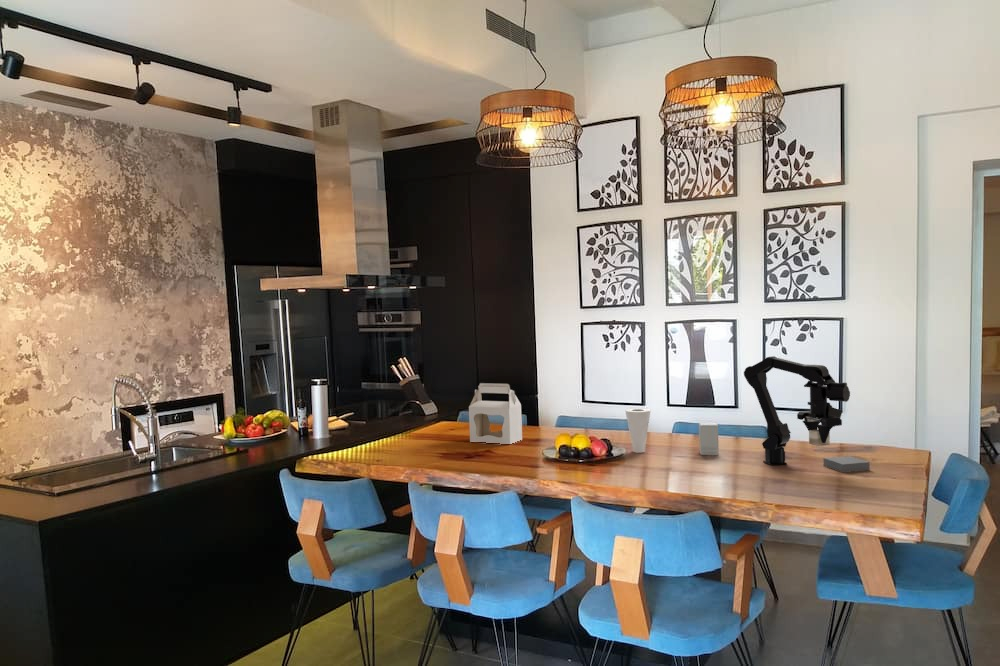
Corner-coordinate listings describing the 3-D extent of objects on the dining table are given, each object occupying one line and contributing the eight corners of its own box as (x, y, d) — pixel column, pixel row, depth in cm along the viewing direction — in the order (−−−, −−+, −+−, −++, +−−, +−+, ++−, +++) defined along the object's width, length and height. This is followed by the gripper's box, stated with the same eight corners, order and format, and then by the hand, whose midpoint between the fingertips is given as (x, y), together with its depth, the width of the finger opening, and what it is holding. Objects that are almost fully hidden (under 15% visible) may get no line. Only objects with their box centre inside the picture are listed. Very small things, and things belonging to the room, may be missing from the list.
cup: (652, 454, 298) (651, 412, 298) (626, 454, 300) (625, 412, 299) (650, 449, 309) (649, 408, 308) (626, 449, 310) (625, 408, 310)
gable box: (469, 442, 338) (467, 384, 337) (482, 437, 350) (480, 381, 349) (510, 445, 328) (508, 385, 327) (522, 440, 340) (521, 382, 339)
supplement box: (719, 455, 292) (718, 425, 291) (700, 455, 293) (699, 425, 293) (717, 451, 299) (716, 422, 298) (699, 451, 300) (698, 422, 300)
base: (842, 472, 256) (842, 464, 256) (823, 465, 267) (823, 458, 267) (869, 470, 258) (869, 462, 258) (849, 463, 269) (849, 456, 269)
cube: (817, 446, 258) (817, 432, 257) (809, 443, 263) (808, 430, 262) (829, 445, 259) (829, 431, 258) (821, 442, 263) (821, 429, 263)
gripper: (855, 401, 252) (855, 444, 253) (822, 395, 271) (823, 435, 271) (826, 403, 250) (827, 446, 251) (796, 397, 269) (796, 437, 269)
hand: (819, 441), depth 261 cm, fingers closed on cube, 5 cm apart
